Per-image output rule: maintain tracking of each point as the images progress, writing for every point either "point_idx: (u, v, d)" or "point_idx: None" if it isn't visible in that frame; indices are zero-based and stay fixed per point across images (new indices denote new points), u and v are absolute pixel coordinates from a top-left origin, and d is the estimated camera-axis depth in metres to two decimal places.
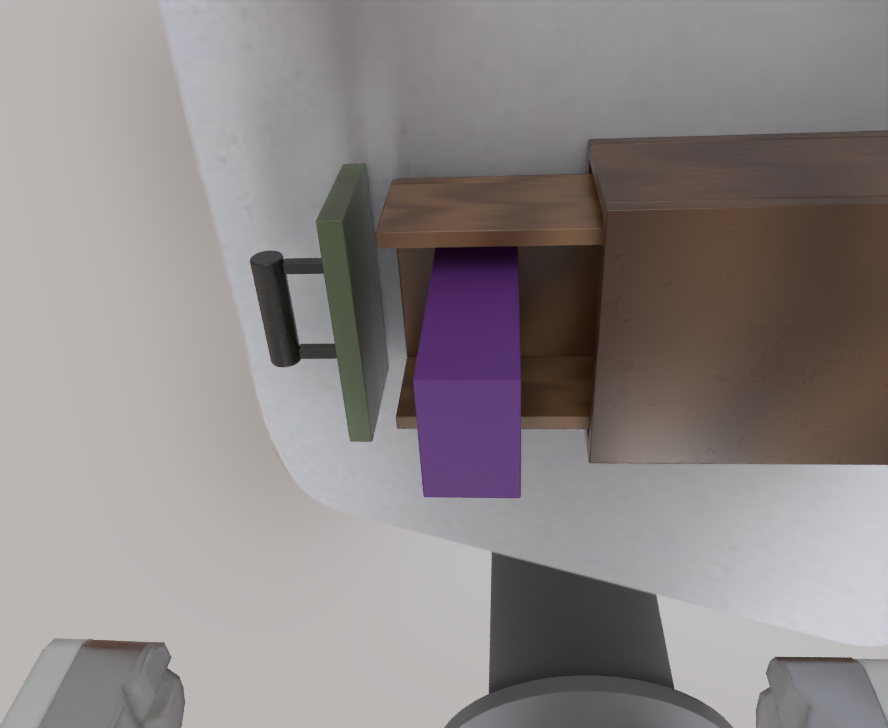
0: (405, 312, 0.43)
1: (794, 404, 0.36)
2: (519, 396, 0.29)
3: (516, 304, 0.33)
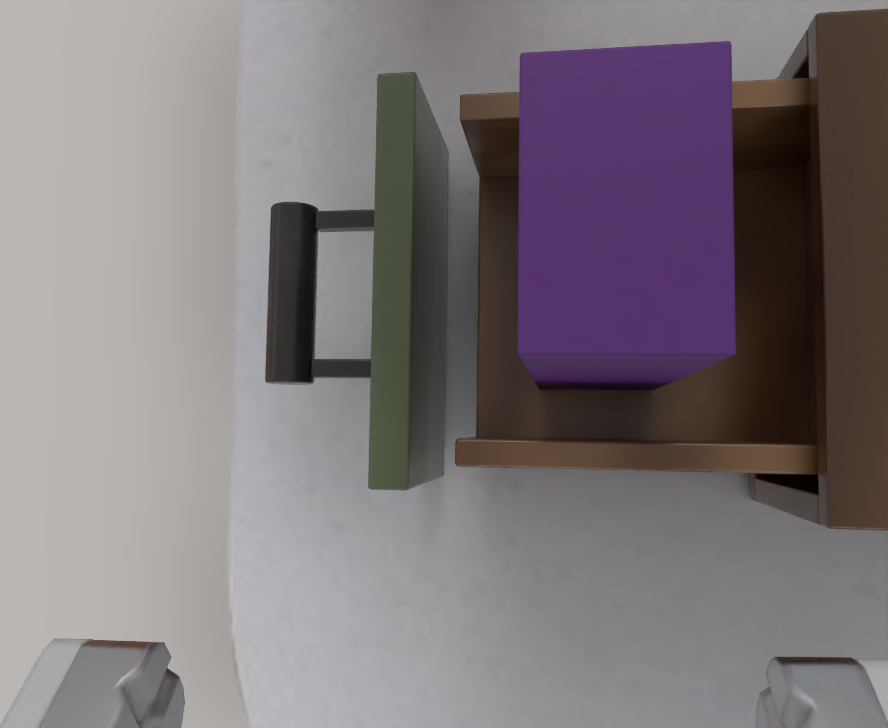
0: (480, 356, 0.28)
1: None
2: (729, 79, 0.15)
3: None
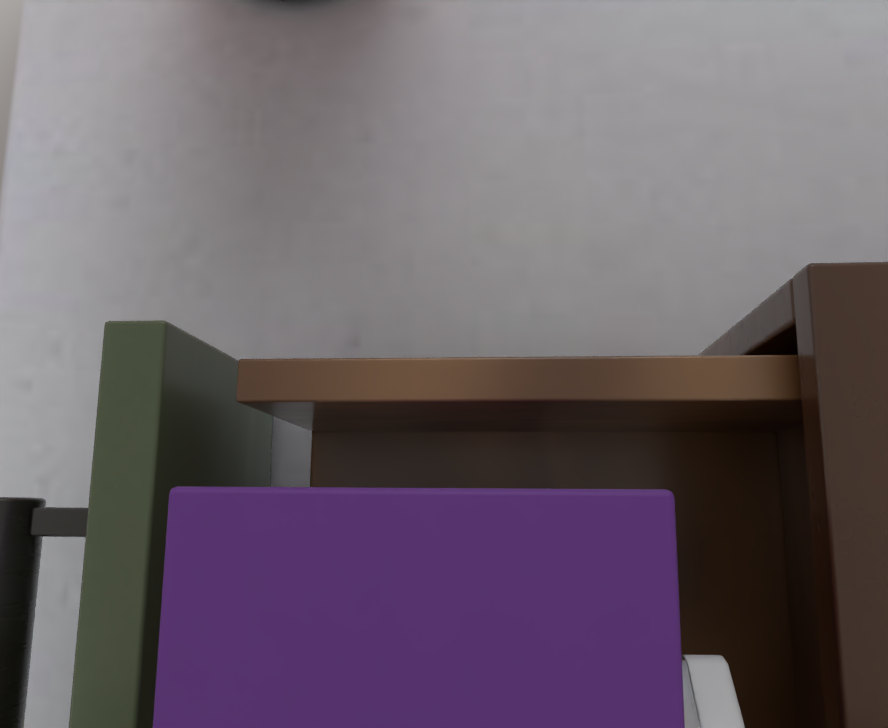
0: None
1: None
2: (671, 594, 0.06)
3: None
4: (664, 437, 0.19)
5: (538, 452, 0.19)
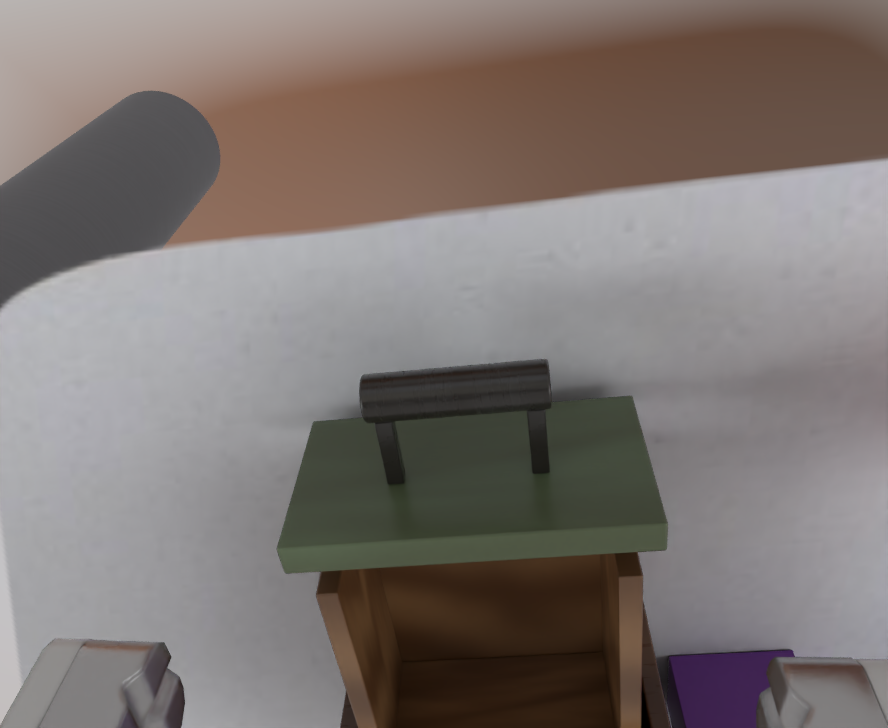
0: None
1: None
2: None
3: None
4: (598, 614, 0.35)
5: (588, 568, 0.33)
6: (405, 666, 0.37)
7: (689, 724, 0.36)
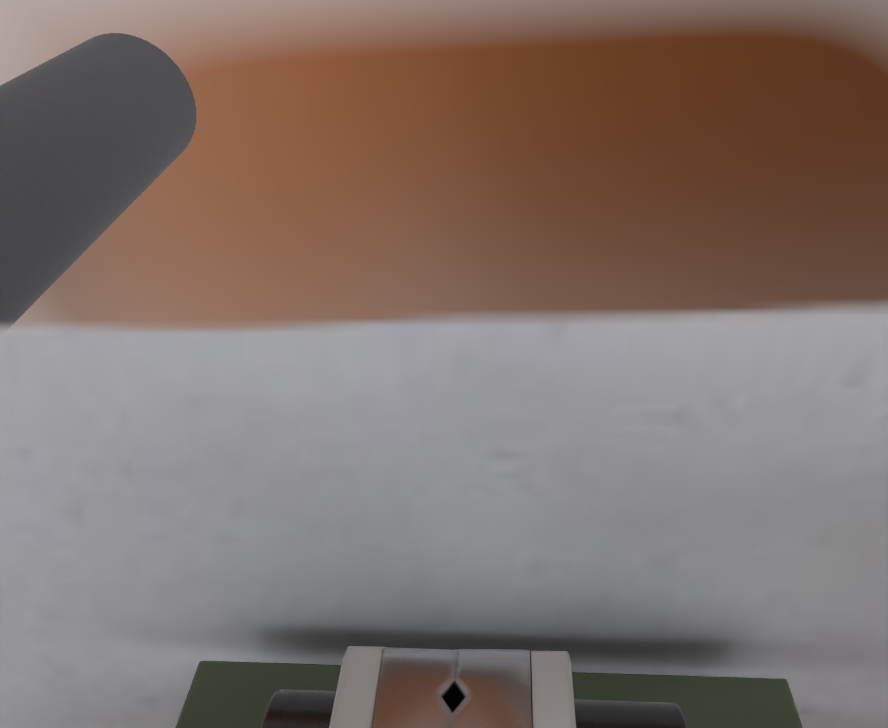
0: None
1: None
2: None
3: None
4: None
5: None
6: None
7: None
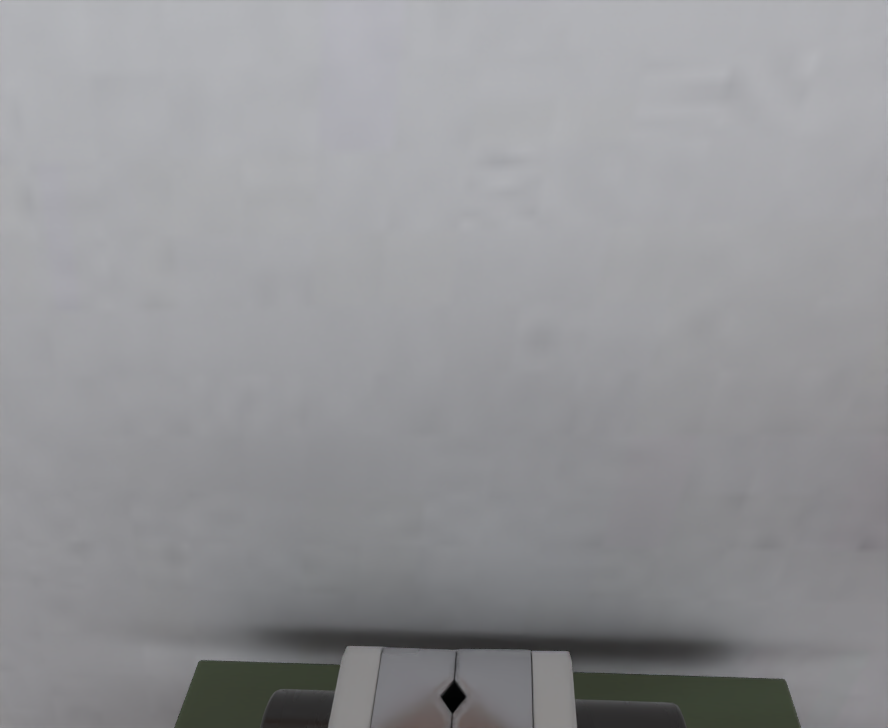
0: None
1: None
2: None
3: None
4: None
5: None
6: None
7: None
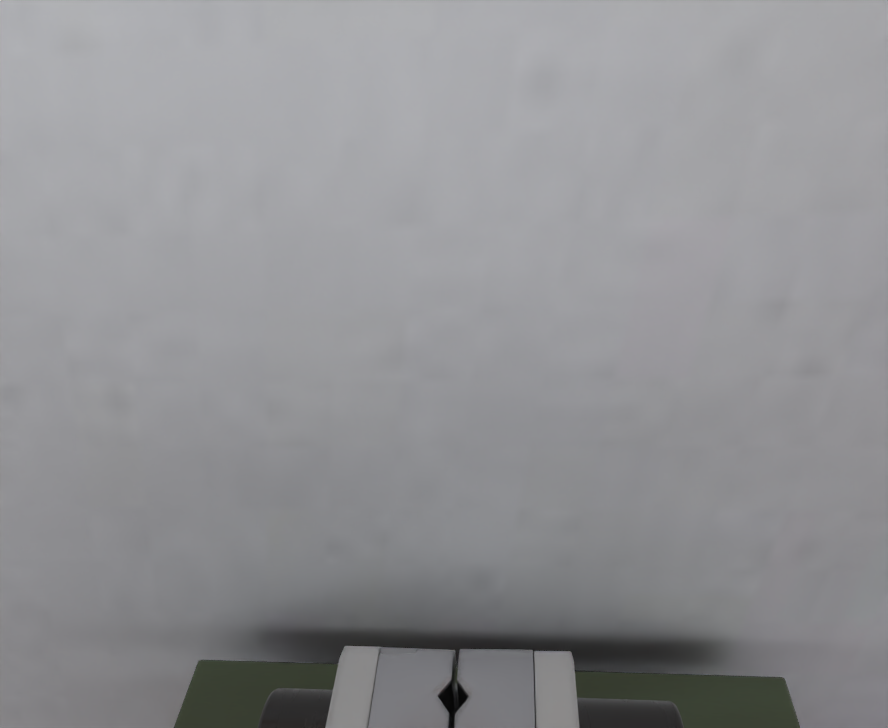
0: None
1: None
2: None
3: None
4: None
5: None
6: None
7: None
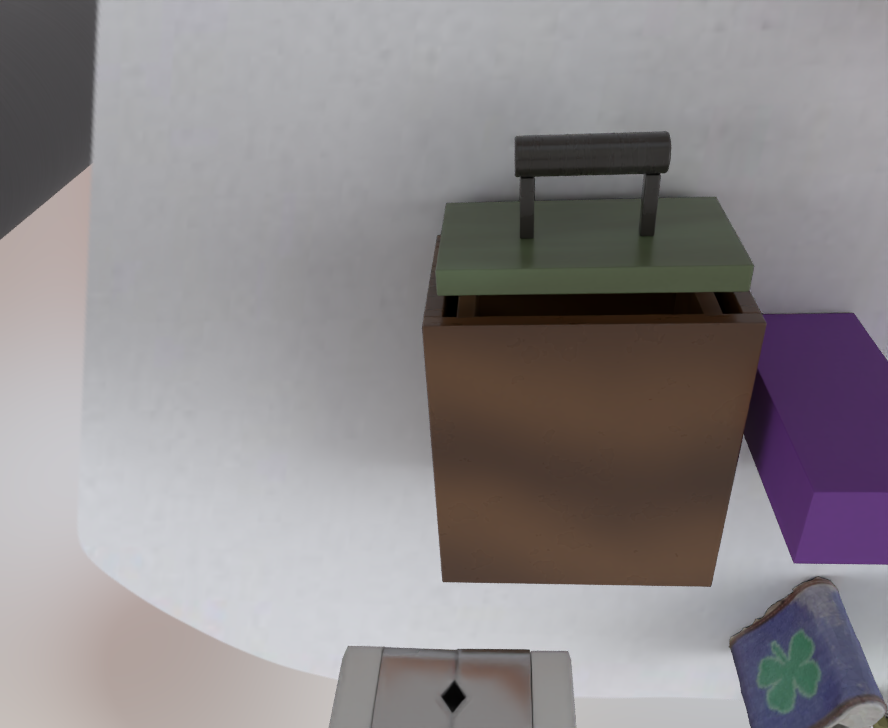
0: None
1: (514, 493, 0.37)
2: None
3: None
4: None
5: None
6: None
7: None
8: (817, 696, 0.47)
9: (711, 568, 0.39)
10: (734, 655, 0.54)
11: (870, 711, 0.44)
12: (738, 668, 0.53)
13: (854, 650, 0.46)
